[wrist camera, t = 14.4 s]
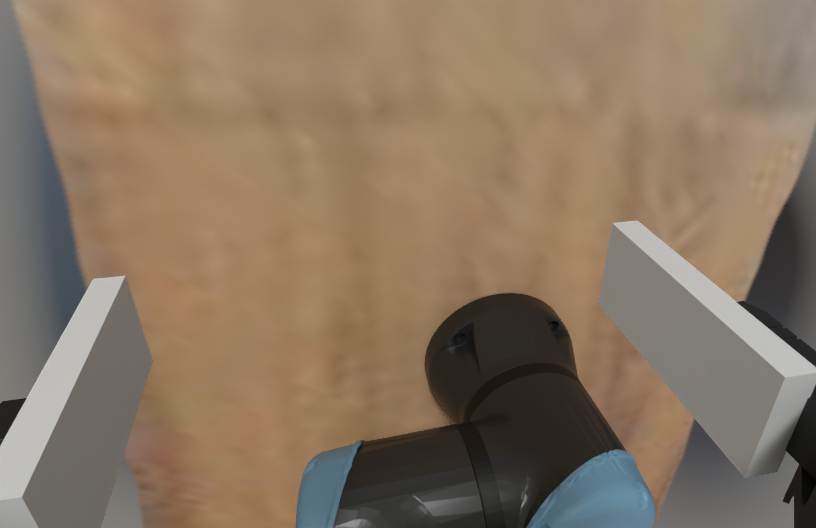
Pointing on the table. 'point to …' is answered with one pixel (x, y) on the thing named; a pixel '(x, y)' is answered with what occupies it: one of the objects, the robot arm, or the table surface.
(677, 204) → the table surface
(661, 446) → the table surface
